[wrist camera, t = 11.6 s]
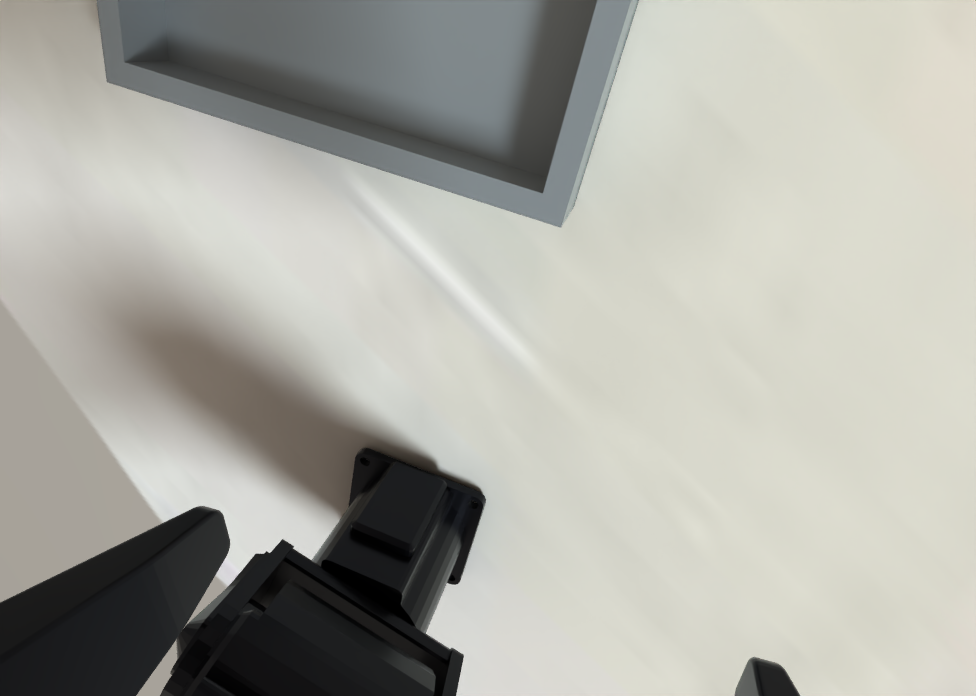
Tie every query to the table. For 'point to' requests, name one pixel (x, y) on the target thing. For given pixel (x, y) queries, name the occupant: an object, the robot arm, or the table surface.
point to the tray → (393, 82)
